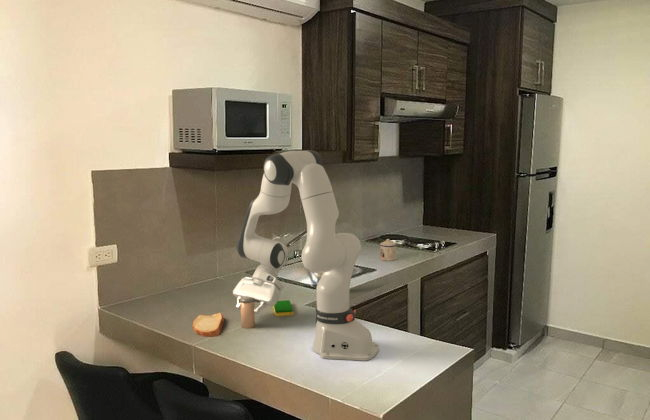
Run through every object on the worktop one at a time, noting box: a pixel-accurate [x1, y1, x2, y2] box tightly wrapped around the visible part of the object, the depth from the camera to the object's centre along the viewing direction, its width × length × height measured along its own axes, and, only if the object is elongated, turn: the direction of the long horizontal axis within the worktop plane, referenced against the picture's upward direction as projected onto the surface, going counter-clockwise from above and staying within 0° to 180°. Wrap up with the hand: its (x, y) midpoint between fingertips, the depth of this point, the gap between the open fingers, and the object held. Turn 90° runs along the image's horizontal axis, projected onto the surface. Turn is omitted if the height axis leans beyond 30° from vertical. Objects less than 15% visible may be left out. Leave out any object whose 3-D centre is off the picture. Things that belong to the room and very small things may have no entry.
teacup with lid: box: [379, 238, 397, 262], centre depth 313 cm, size 12×9×12 cm
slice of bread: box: [191, 312, 225, 338], centre depth 212 cm, size 18×18×4 cm
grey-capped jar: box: [240, 296, 256, 329], centre depth 211 cm, size 5×5×11 cm
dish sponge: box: [272, 299, 294, 317], centre depth 230 cm, size 7×14×2 cm, turn 10°
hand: (246, 310), depth 211 cm, fingers open, 8 cm apart
